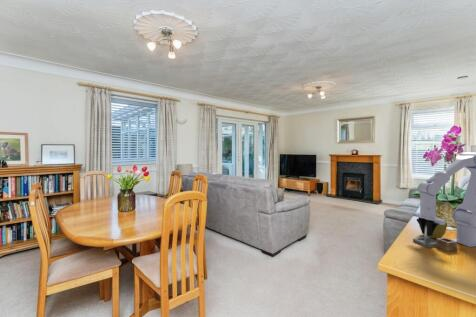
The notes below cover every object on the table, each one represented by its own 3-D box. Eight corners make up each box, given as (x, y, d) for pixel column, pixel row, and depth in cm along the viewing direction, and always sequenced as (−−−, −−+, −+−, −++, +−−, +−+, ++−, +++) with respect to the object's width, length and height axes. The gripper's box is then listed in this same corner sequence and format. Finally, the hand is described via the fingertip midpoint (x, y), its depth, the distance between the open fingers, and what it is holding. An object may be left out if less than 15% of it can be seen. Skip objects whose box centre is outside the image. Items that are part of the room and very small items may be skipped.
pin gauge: (426, 239, 111) (426, 223, 111) (430, 241, 109) (431, 225, 109) (423, 240, 111) (423, 224, 111) (427, 241, 109) (427, 225, 109)
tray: (426, 239, 115) (426, 237, 114) (441, 245, 108) (441, 242, 108) (413, 241, 113) (413, 238, 113) (427, 247, 106) (427, 244, 106)
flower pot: (447, 240, 114) (448, 222, 113) (427, 239, 115) (427, 221, 115) (436, 234, 122) (436, 217, 122) (417, 233, 124) (417, 216, 124)
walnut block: (444, 245, 107) (445, 237, 107) (456, 250, 103) (457, 241, 102) (436, 246, 107) (436, 238, 106) (447, 251, 102) (448, 242, 101)
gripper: (407, 203, 116) (406, 230, 117) (436, 211, 102) (435, 241, 102) (418, 203, 117) (417, 229, 118) (449, 210, 103) (448, 240, 104)
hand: (427, 234), depth 110 cm, fingers closed on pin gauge, 2 cm apart
